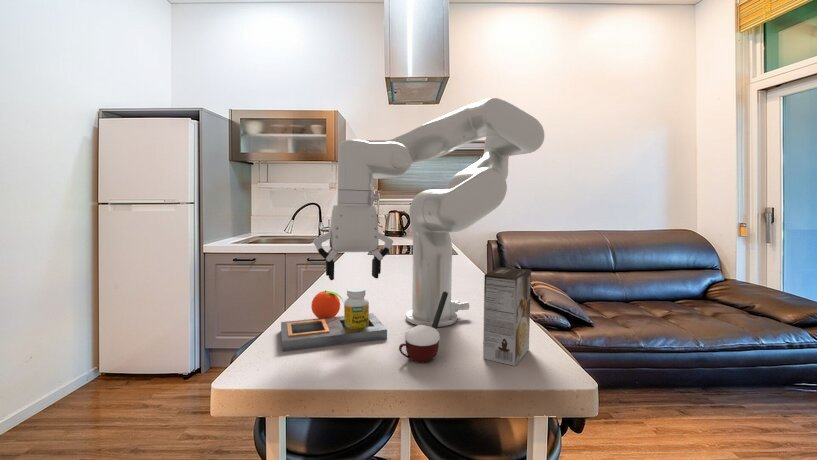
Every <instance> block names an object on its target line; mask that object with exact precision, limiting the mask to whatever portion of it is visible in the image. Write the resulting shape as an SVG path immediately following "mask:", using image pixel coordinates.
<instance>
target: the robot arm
mask: <svg viewBox="0 0 817 460" xmlns="http://www.w3.org/2000/svg"><path fill="white" fill-rule="evenodd" d="M543 127H544V126H543V125H542V123H541V122H540V121H539V120H538V119H537V118H535V117H534V116H532V115H531V114H530V113H527V112H525V110H522V109H520V108H519V107H518V106H516V105H514V104H512V103H510V102H508V101H506V100H504V99H501V98H499V97H498V98H497V97H490V98H485V99H482V100H480V101H478V102H474V103H471V104H468V105H466V106H463V107H460V108H459V109H457V110H454V111H452V112H449V113H447V114H445V115H442V116H441V117H440V116H439V117H438V118H435V119H433V120H431V121H428V122H426V123H424V124H421V125H420V126H417V127H416V128H414V129H411V130H409V131H407V132H406V133H403V134H400V135H398V136H396V137H393V138H391V139H389V140H387V141H384V142H369V141H367V140H361V139H345V140H342V141H340V143H339V145H338V150H337V152H338V153H337V155H338V156H337V197H336V198H337V201H336V202H337V205H336V204H335V205H333V207H332V211H331V218H330V224H329V225H330V227H329V228H330V229H329V232H326V233H324V234H322V235H321V236H319V237H317V238H314V239H313V241H312V243H313V244H314V246H315V249H316V250H317V252H318V253H319V255H321V257H323V258H324V259H325V276H327V277H328V279H329V280H330V281H333V280H335V261H334V258H335V257H336V256H337V254H338V253H371V254H372V256H373V258H372V259H371V276H372V277H373V278H374V279H379V275H380V274H381V269H382V263H381V262H382V260H383V259H384V257H385V256H387V254H388V253H389V252H390V249H391V247H392V246H393V243H394V239H392V238H390V237H389V236H387V235H384V234H383V233H381V232H379V225H378V215H377V214H378V213H377V207H376V206H374V205H373V204H374V202H379V201H380V195H379V194H376V193H375V192H374V180H375V179H377V180H381V179H392V178H399V177H401V176H403V175H405V174H406V173H407V172H409V170H410V168H411V166H412V165H413V164H415V163H419V162H423V161H428V160H433V159H436V158H437V159H438V158H439V157H443V156H445V155H448V154H450V153H452V152H453V151H456V150H457V149H459V148H460V149H461V148H462V147H465V146H466V145H468V144H470V143H472V142H473V143H474V141H476V140H479V139H482V138H485V140H484V146H483V147H484V148H483V154H482V157H481V158H480V159H478V160H477V161H476V162H474V163H473V164H471V165H469V166H468V167H466V168H465V169H463V170H461V171H459V172H457V173H456V174H454V175H453V176H452V177H451V178H450V179H449V180H448V182H447V184H446V187H445V189H444V188H443V189H441V188H440V189H439V188H438V189H426V190H423V191H421V192H419V193H418V194H416V195H415V196H414V197H413V198H412V201H411V202H410V205H409V220H410V225H411V226H410V227H411V235H412V292H411V293H412V299H411V300H412V302H411V303H412V304H411V305H412V306H411V307H412V309H411V310H408V311H407V312H406V313H405V320H406V321H407V322H408V323H410V324H413V325H415V326H418V325H425V326H430V327H432V324H433V321H434V318H435V315H436V312H437V309H438V306H439V302H440V299H441V296H442V293H443V292H444V291H445V292H447V293H448V296H447V299H446V302H445V305H444V308H443V312H442V315H441V318H440V321H439V324H438V327H437V328H441V327H447V326H451V325H453V324H455V323H457V321H458V314H457V312H459V311H468V310H470V303H469V302H468V301H464V302H460V301H459V300H455V301H454V300H453V299H452V281H453V279H452V278H453V276H452V274H453V273H452V269H453V243H452V239H451V235H450V233H459V232H462V231H464V230H467V229H468V228H470V227H472V226H473V225H474V224H475V223H477V222H478V221H481V220H482V219H483V218H485V217H487V215H489V214H490V213H491V212H493V211H494V210H496V209H497V208H498V207H499V206H500V205H501V204H502V203H503V201H504V199H505V197H506V195H507V191H508V185H507V184H508V183H507V179H508V176H509V175H508V174H509V157H511V156H518V155H526V154H531V153H534V152H536V151H538V150H539V149H540V148H541V147H542V145H543V144H544V141H545V129H544V128H543ZM328 240H329V248H330V249H329V250H328V251H326V250H325V249H324V246H323V245H322V244H323V243H324V242H327V241H328ZM379 241H382V242H384V245H383V247H382V248H380V250H378V248H379Z"/></svg>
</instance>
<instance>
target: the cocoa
mask: <svg viewBox="0 0 817 460" xmlns="http://www.w3.org/2000/svg"><path fill="white" fill-rule="evenodd" d="M447 296H448V293H447V292H445V291H444V292H443V293H442V296H441V299H440V302H439V306H438V309H437V312H436V315H435V318H434V321H433V324H432V327H430V326H425V325H415V326H413V327H411V328H409V329H407V330H406V331H405V333H404V337H405V341H404V343H401V344H400V345H399V347H398V351H399V353H400V354H401V355H402V356H404V357H405V358H407V359H410V360H412V361H414V362H416V363H422V364H423V363H424V364H425V363H428V362H431V361H433V359H435V358H436V356H437V354H438V352H439V347H440V346H439V344H440V339H441V338H440V332H439V331H438V328H439V327H438V324H439V321H440V318H441V315H442V312H443V308H444V305H445V302H446V299H447ZM403 347H405V350H406V353H404V352H403V350H402V348H403Z"/></svg>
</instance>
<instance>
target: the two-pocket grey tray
mask: <svg viewBox="0 0 817 460" xmlns="http://www.w3.org/2000/svg"><path fill="white" fill-rule="evenodd" d="M280 335H281V350H282V352H288V351H289V352H290V351H296V350H297V351H298V350H304V349H314V348H320V347H323V348H324V347H328V346H329V347H330V346H337V345H347V344H354V343H356V344H357V343H362V342H363V343H364V342H369V341H370V342H371V341H379V340H386V339H388V329H387V327H385V325H384V324H383V323H382V322H381V321H380V319H379V318H378V317H377V316H376V314H374V312H373V313H372V312H371V313H369V327H364V328H354V329H345V319H344V315H341V316H335V317H328V318H310V319H301V320H300V319H298V320H289V321H281V322H280Z"/></svg>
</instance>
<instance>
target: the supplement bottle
mask: <svg viewBox="0 0 817 460" xmlns="http://www.w3.org/2000/svg"><path fill="white" fill-rule="evenodd" d="M366 294H367V293H366V289H365V287H364V288H363V287H350V288H348V289H347V290H346V296H347V298H346V299H345V300H344V301H343V302H344V303H343V304H344V307H343V310H344V315H343V316H344V319H345V328H344V329H354V328H364V327H369V314H370V313H369V311H370V308H369V307H370V305H369V304H370V302H369V299H368V298H367V297H366Z"/></svg>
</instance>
